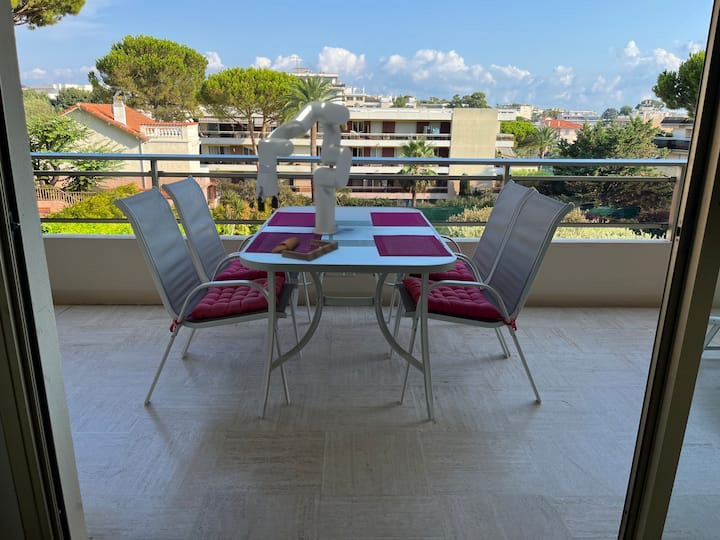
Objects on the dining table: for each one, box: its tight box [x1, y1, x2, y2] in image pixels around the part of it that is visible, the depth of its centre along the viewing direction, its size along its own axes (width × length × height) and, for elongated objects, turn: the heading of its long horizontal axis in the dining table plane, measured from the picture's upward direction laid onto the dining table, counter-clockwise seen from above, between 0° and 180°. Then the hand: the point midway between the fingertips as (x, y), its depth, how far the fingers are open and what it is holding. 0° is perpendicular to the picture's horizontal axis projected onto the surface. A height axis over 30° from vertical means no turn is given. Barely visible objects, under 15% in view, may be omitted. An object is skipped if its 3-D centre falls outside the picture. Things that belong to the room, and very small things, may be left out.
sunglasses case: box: [270, 236, 301, 255], centre depth 229 cm, size 18×7×7 cm
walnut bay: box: [281, 238, 339, 262], centre depth 224 cm, size 24×13×3 cm, turn 154°
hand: (268, 209), depth 228 cm, fingers open, 9 cm apart
